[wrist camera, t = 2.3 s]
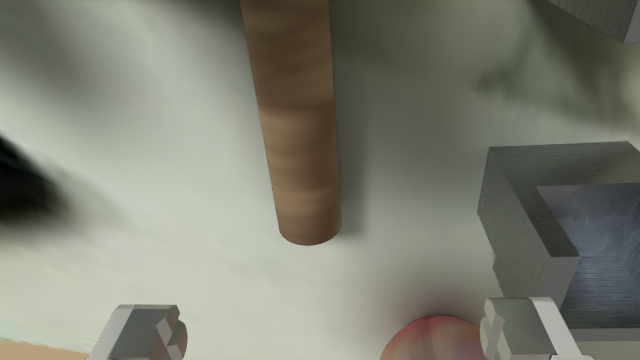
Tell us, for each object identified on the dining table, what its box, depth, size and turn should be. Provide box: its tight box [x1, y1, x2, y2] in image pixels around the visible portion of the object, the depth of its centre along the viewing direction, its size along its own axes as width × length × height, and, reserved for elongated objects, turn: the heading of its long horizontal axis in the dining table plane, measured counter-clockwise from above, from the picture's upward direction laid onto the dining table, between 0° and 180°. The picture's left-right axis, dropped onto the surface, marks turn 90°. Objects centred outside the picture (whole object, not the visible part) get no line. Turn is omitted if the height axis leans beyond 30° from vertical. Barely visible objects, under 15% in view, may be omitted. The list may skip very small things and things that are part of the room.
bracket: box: [477, 141, 640, 341], centre depth 23 cm, size 6×8×9 cm
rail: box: [240, 0, 342, 246], centre depth 22 cm, size 17×4×4 cm
